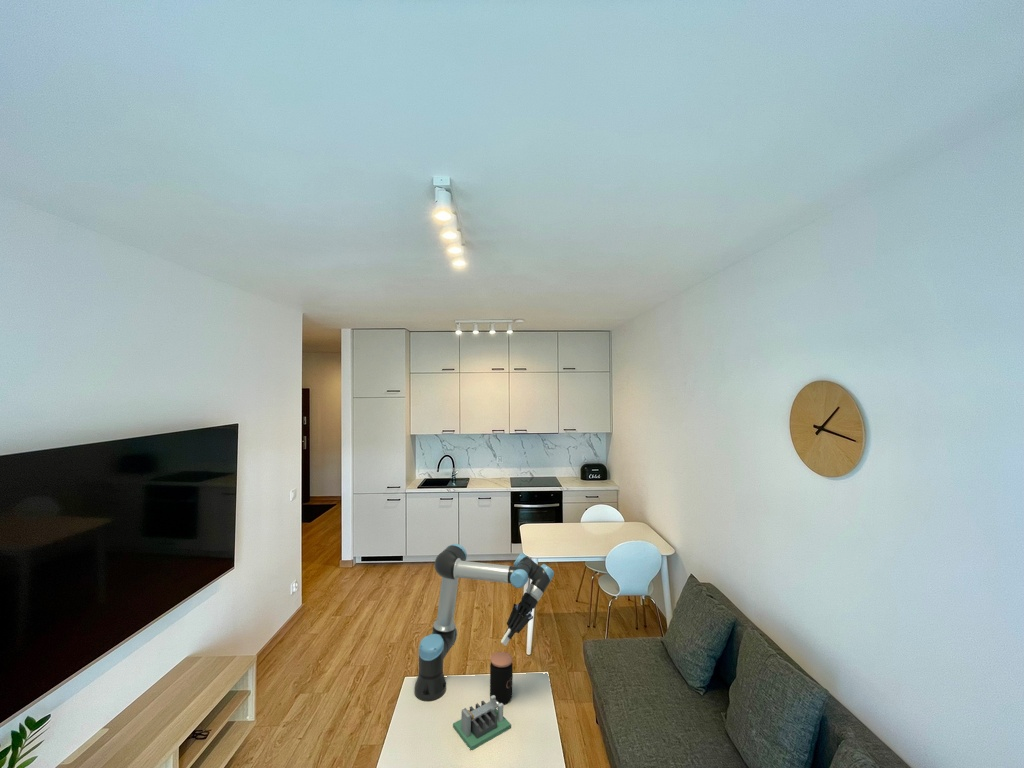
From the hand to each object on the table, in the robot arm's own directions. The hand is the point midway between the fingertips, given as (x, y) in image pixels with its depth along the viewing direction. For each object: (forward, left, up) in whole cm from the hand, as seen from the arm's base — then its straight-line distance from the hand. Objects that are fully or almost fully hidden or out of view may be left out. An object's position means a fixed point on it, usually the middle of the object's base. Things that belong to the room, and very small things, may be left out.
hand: (503, 643), depth 186 cm
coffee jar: (-8, +5, -30) cm, 32 cm away
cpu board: (+2, -12, -30) cm, 32 cm away
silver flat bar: (+2, -11, -24) cm, 26 cm away
